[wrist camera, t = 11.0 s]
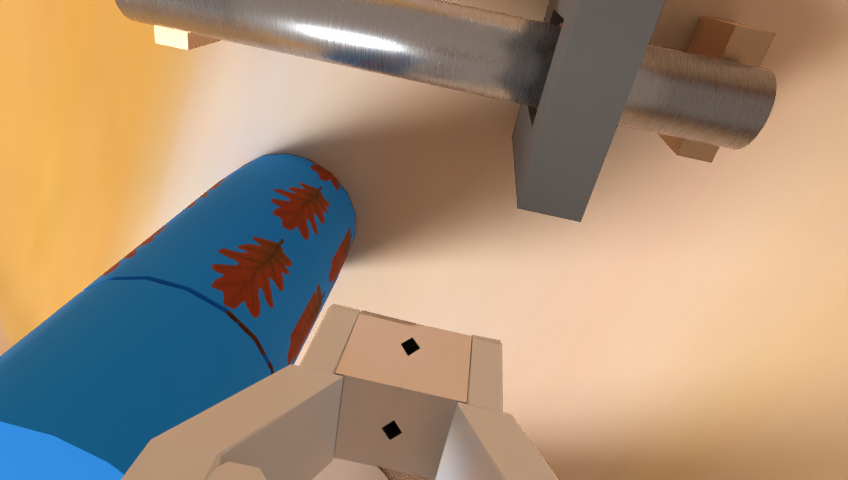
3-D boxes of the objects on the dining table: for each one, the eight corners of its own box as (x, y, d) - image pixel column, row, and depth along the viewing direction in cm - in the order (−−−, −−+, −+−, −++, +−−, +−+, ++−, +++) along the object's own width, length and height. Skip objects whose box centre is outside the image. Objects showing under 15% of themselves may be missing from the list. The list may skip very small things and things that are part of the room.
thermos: (276, 121, 36) (-51, 361, 15) (386, 218, 39) (246, 542, 17) (201, 213, 41) (-130, 499, 19) (304, 295, 44) (114, 624, 22)
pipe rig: (683, 135, 33) (741, 191, 25) (199, 32, 34) (108, 54, 26) (735, 22, 30) (821, 46, 22) (193, -91, 30) (86, -108, 23)
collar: (556, 146, 33) (580, 222, 24) (512, 136, 33) (517, 208, 24) (618, -44, 28) (682, -45, 18) (564, -55, 28) (599, -62, 18)
